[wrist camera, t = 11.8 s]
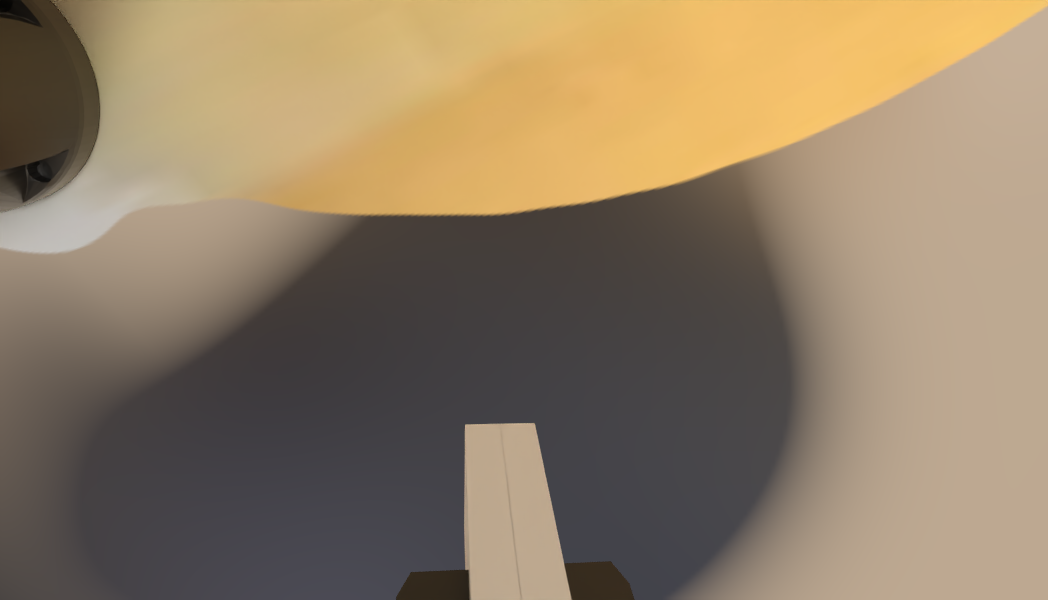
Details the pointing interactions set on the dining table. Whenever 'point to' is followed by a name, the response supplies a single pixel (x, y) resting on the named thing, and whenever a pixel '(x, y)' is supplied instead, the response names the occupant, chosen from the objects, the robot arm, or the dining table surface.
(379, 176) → the dining table surface
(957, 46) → the dining table surface
